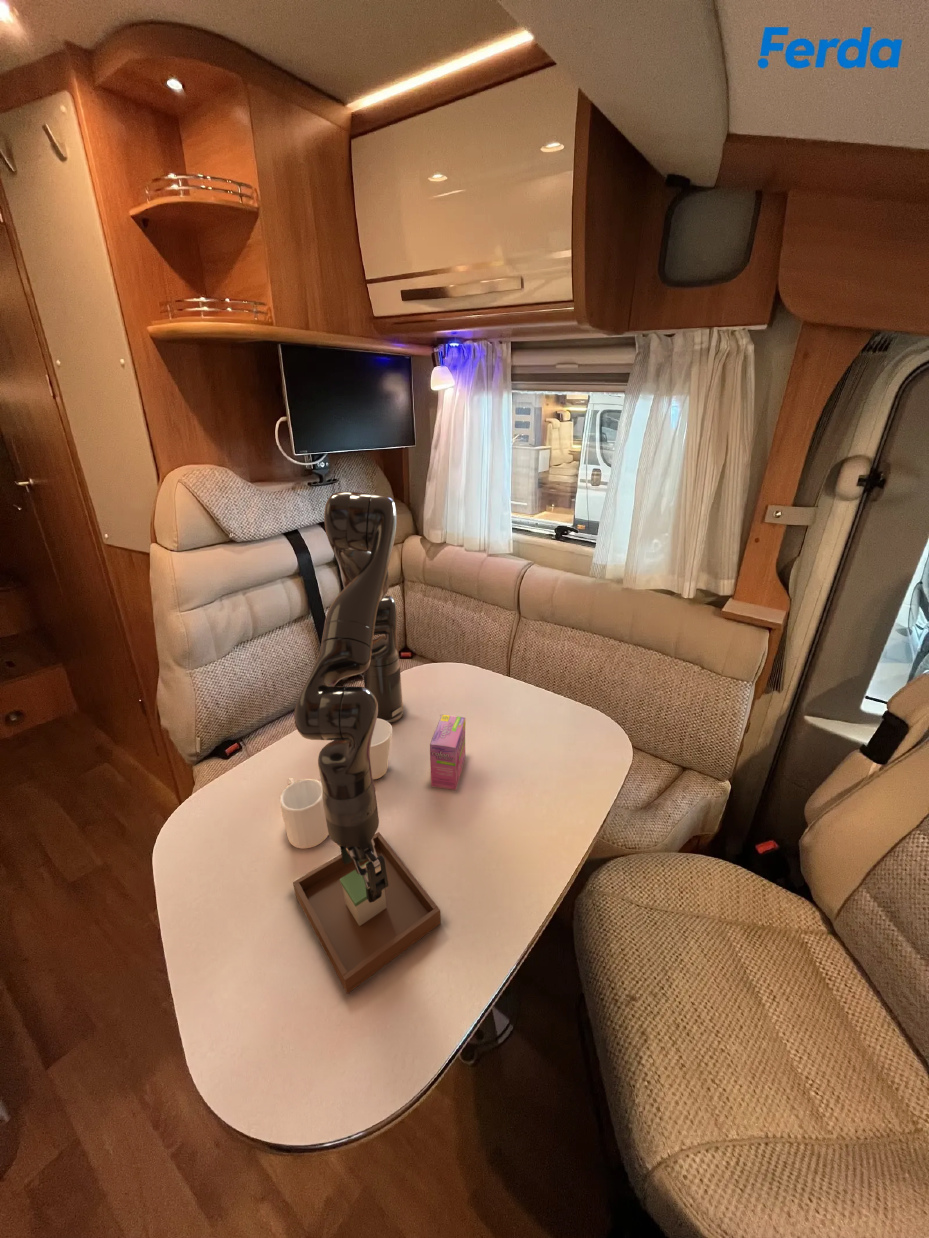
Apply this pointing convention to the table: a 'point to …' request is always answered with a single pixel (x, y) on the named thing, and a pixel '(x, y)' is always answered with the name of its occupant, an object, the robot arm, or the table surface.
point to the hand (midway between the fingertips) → (361, 878)
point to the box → (447, 752)
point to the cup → (380, 748)
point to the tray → (379, 937)
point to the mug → (304, 813)
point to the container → (360, 898)
